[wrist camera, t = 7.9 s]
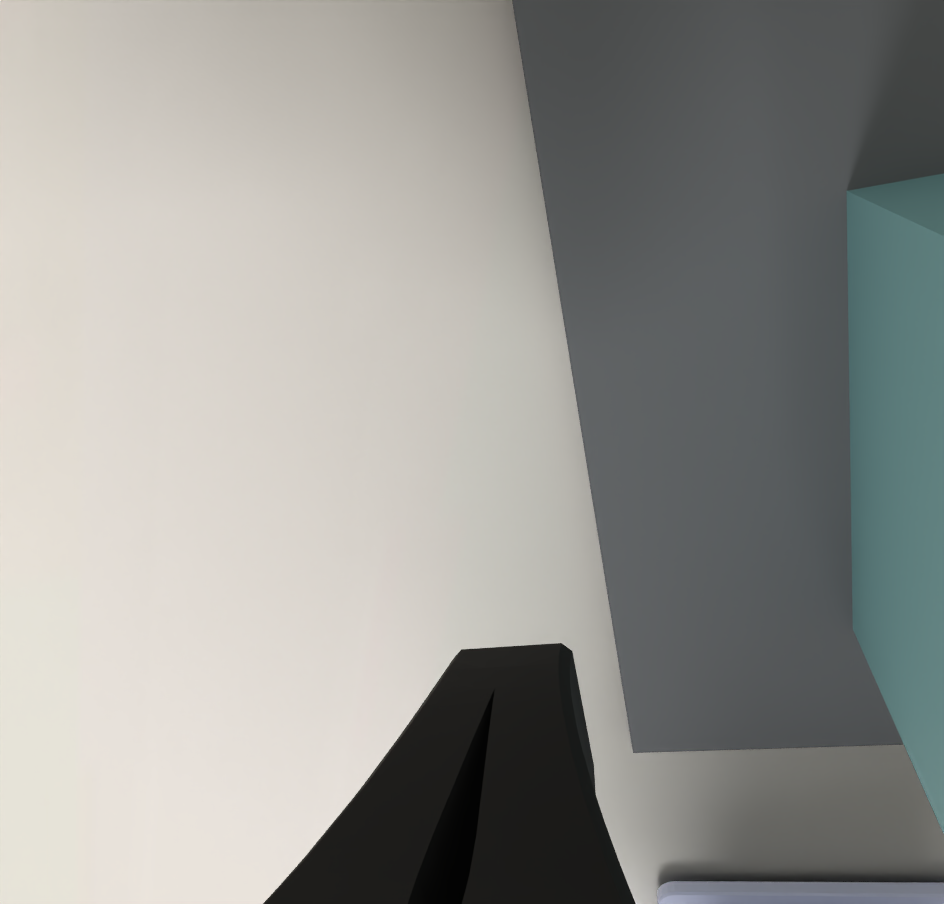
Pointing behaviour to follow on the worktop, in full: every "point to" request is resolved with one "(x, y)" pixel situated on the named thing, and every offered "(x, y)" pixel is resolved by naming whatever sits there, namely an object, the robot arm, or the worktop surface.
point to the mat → (725, 333)
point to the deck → (900, 456)
